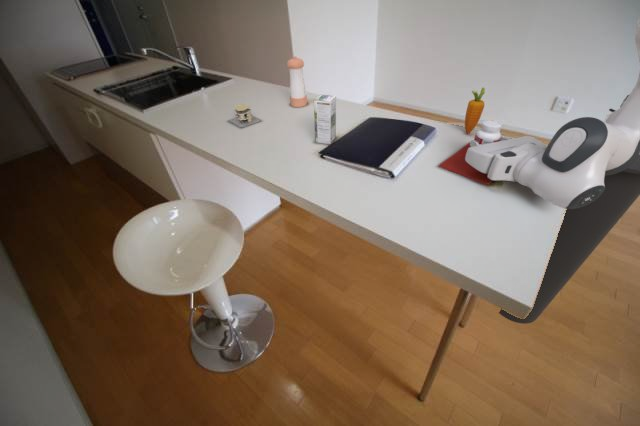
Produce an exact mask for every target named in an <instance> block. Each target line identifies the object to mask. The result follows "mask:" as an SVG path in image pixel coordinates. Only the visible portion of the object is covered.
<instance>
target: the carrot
mask: <svg viewBox="0 0 640 426" xmlns="http://www.w3.org/2000/svg"><path fill="white" fill-rule="evenodd" d="M485 91H486V88H485V87H482V88H481V90H480V93H478V91H477V90H472V91H471V93H472V94H473V96H474V99H470V100H469V101H468V103H467V107H466V111H465V117H464V130H465V134H466V135H469V134H471V132H473V130H474V129H475V128H476V126H477V125H478V123H479V121H480V119H481V116H482V115H483V111H484V108H485V101H483V100H482V98H483V96H484V95H485V93H486V92H485Z"/></svg>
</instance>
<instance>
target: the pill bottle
mask: <svg viewBox="0 0 640 426" xmlns="http://www.w3.org/2000/svg"><path fill="white" fill-rule="evenodd" d="M502 126H503V124H502V123H501V122H499V121H498V120H497V121H496V120H484V121H482V124H481V126H480V128H479V129H478V130H477V131H476V133H475V136H474V139H473V140H475V139H477V140H479V141H480V143H479V145H480V144H482V145H483V144H488V143H493V142H498V141H500V138H501V136H502V133H501V129H502Z"/></svg>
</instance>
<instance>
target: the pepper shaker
mask: <svg viewBox="0 0 640 426" xmlns="http://www.w3.org/2000/svg"><path fill="white" fill-rule="evenodd" d="M286 63H287V64H286V66H287V68H288V71H289V79H290V80H289V92H290V96H289V99H290V106H291V107H293V108H301V107H306V106H307V105H308V98H307V97H308V96H307V94H306V84H305V80H304V71H303V67H304V66H305V62H304V60H303V59H302V58H299V57H297V55H296V56H295V55H293V57H291V58H290V59H288V60H287V62H286Z"/></svg>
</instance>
